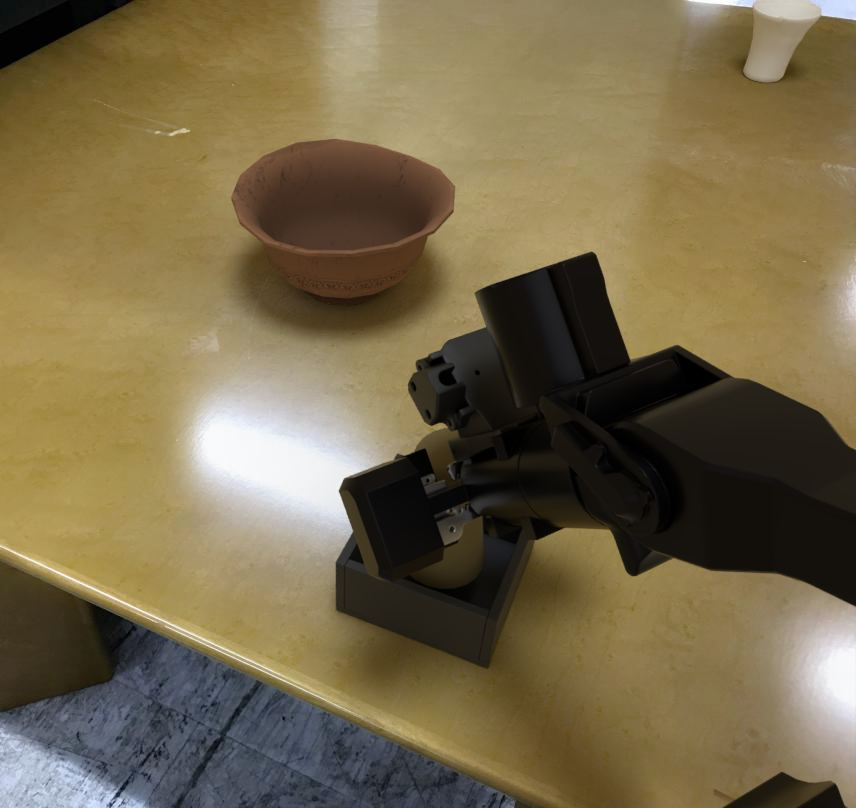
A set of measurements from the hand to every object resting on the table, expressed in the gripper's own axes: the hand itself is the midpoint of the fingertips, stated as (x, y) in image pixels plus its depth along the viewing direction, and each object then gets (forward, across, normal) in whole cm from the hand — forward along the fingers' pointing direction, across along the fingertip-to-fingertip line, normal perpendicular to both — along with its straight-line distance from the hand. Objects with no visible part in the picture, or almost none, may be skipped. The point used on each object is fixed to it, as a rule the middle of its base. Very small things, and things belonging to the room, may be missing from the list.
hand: (438, 479), depth 61 cm
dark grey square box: (+6, 0, +8) cm, 10 cm away
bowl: (+32, -12, -19) cm, 39 cm away
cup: (+44, -90, -31) cm, 105 cm away
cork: (+4, 0, +6) cm, 7 cm away
